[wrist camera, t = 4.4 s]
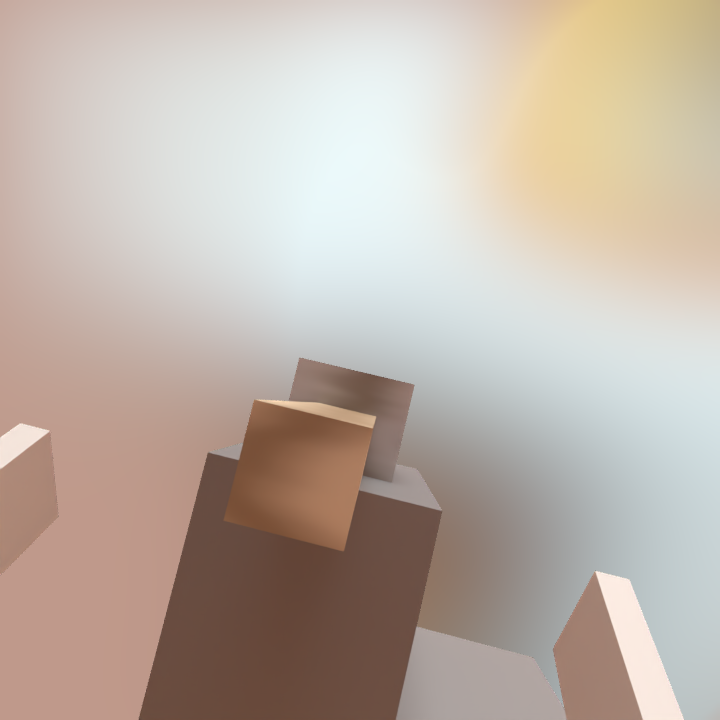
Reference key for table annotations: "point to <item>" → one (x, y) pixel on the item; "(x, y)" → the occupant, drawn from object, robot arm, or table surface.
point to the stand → (324, 622)
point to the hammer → (317, 452)
